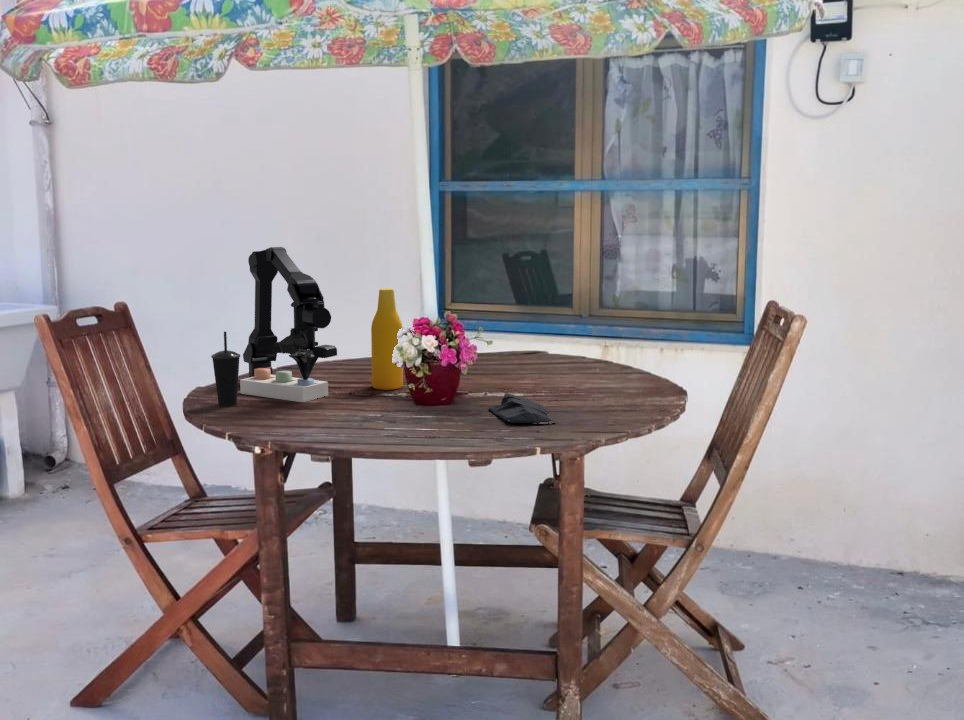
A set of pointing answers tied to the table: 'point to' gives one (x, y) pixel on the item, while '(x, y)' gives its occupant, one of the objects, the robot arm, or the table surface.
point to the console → (283, 389)
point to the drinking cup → (226, 375)
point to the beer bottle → (385, 343)
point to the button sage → (283, 376)
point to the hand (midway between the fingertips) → (305, 379)
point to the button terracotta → (262, 373)
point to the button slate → (305, 382)
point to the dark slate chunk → (520, 410)
